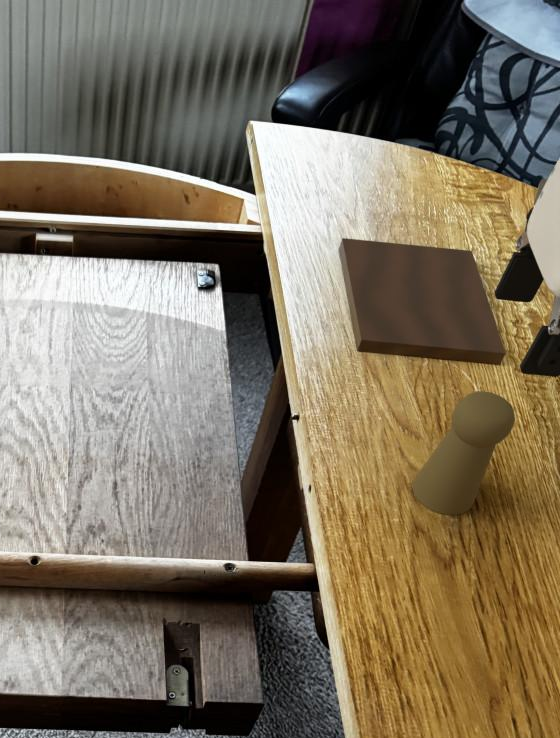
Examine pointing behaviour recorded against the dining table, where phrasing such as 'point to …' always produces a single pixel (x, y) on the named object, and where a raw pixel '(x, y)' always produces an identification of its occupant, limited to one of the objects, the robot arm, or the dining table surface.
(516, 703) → the dining table surface
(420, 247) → the walnut board
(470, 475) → the tan pawn
